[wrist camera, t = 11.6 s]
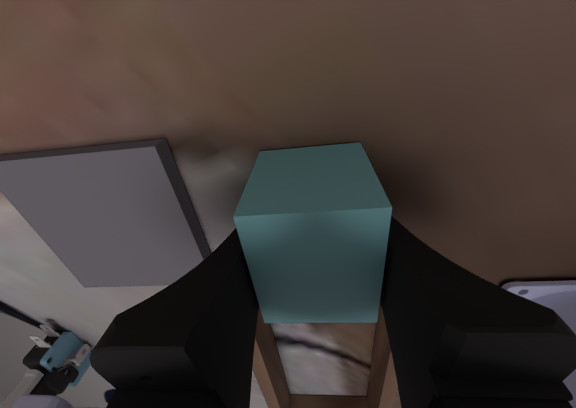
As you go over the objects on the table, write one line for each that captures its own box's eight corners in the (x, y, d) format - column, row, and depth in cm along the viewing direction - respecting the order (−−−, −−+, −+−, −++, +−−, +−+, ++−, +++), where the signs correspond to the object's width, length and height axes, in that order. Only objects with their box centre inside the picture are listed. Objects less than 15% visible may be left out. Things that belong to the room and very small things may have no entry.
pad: (165, 138, 12) (154, 146, 11) (218, 271, 17) (213, 283, 16) (-2, 155, 13) (-24, 163, 12) (94, 275, 18) (84, 287, 17)
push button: (21, 318, 22) (-156, 495, 13) (79, 319, 21) (-68, 503, 13) (64, 356, 25) (-53, 513, 17) (114, 358, 25) (18, 521, 17)
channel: (402, 259, 15) (421, 304, 12) (376, 400, 26) (383, 438, 24) (238, 265, 16) (226, 307, 14) (282, 398, 28) (279, 434, 25)
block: (360, 142, 11) (392, 207, 7) (356, 237, 14) (377, 322, 10) (259, 151, 12) (233, 216, 7) (276, 241, 15) (264, 323, 10)
